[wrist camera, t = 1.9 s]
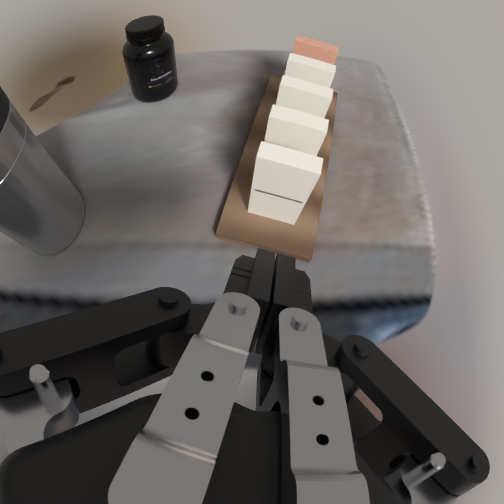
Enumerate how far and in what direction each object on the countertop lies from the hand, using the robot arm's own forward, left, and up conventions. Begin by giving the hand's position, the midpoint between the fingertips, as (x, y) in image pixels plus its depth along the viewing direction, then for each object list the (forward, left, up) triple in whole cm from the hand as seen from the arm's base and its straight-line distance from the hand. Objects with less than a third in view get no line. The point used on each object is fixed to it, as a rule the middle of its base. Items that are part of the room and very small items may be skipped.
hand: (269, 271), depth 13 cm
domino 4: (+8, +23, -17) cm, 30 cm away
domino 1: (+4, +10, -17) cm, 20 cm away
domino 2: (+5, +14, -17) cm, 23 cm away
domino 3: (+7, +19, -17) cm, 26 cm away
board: (+7, +19, -18) cm, 27 cm away
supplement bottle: (-10, +32, -18) cm, 38 cm away
